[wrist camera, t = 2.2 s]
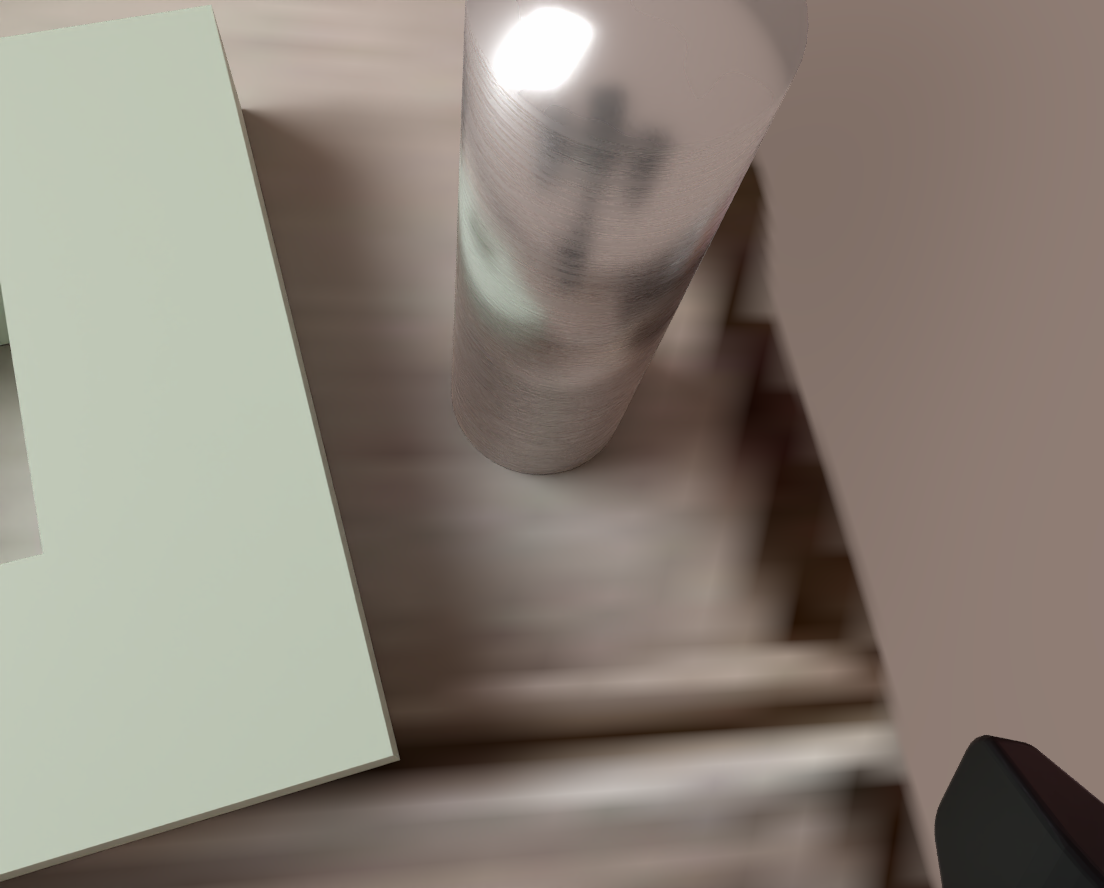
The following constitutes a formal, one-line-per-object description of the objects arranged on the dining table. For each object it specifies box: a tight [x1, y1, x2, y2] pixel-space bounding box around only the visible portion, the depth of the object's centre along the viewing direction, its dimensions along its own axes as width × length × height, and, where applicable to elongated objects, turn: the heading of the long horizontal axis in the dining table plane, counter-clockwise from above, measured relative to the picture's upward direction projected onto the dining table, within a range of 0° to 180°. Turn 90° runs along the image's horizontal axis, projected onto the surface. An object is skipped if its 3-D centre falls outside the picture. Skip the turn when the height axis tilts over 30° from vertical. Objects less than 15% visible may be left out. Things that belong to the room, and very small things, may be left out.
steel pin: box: [451, 0, 808, 475], centre depth 18 cm, size 4×4×12 cm
